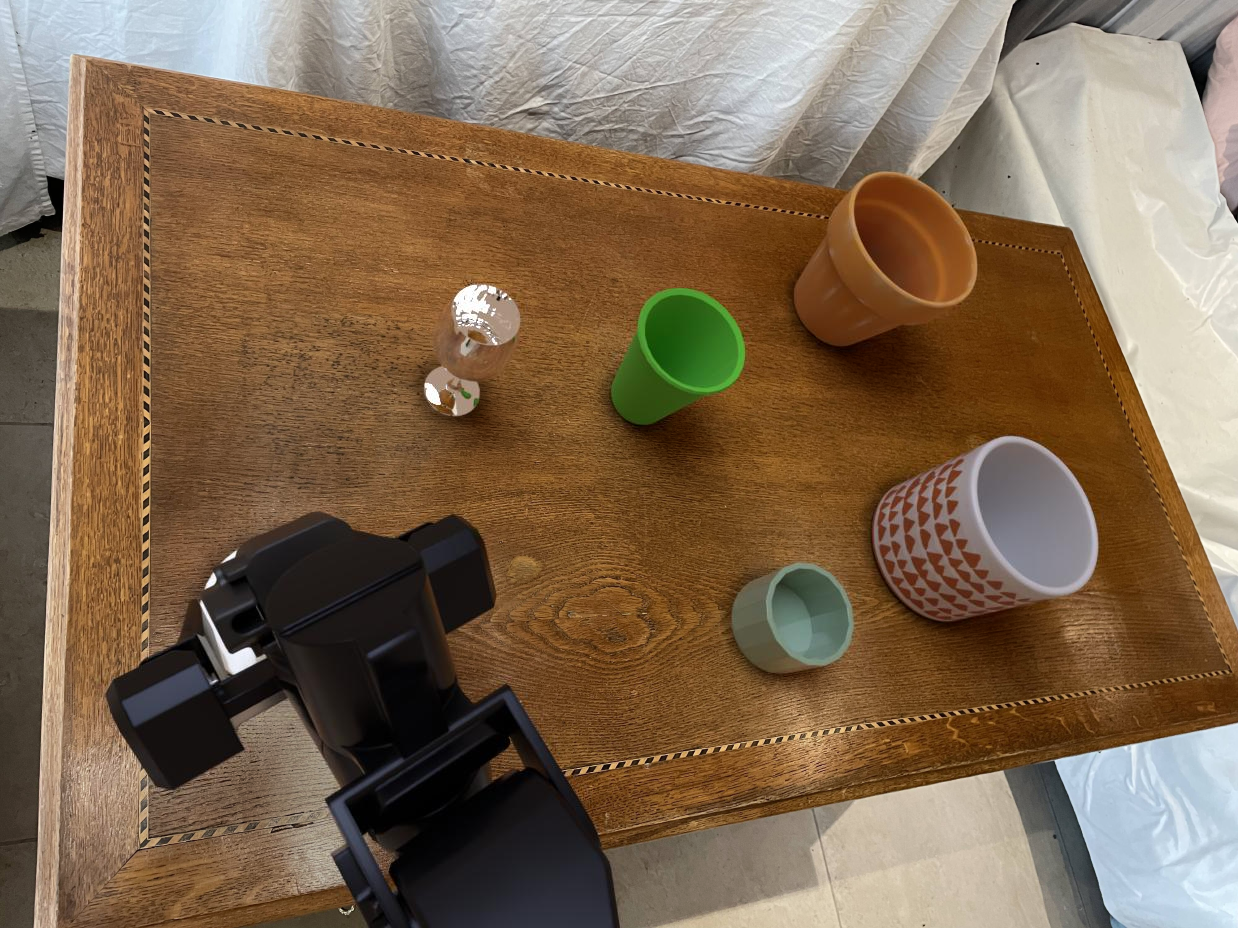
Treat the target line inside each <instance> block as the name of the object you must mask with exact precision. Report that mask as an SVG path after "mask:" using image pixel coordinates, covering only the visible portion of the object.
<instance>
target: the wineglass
mask: <svg viewBox="0 0 1238 928" xmlns="http://www.w3.org/2000/svg"><path fill="white" fill-rule="evenodd" d="M520 333H521V313H520V310H519V307H518V306H517V303H516V302H515V301H514V299H513V298H512V297H511V296H510V295H509V294H508V293H506V292H505V291H504V290H502V289H501V288H498V287H496V286H495V285H489V284H485V283H476V284H471V285H467V286H465V287H463V288H462V289H460V290H459V291H458V292H457V293H456V294H455V295H454V296H453V297H452V298H451V299H450V300H449V301H448V302H447V303H446V305H445V306H444V307H443V309H442V310H441V311H440V313H439V315H438V317H437V319H436V322H435V324H434V327H433V332H432V345H433V351H434V354H435V356H436V359H437V361H438V363H439V364H440V366H438V367H436V368H434V369H432V370H431V371H430V372H429V373H428V374H427V376H426V377H425V380H424V383H423V394H424V398H425V399H426V401H427V403H428V405H430V407H431V408H433V409H434V410H435V411H436V412H438V413H440V414H442V415H444V416H447V417H461V416H466V415H467V414H470V413H471V412H472V411H474V410H475V408H476V407H477V405H478V404H479V402H480V399H481V388H480V385H479V383H481V382H485V381H488V380H491V379H493V378H495V377H497V376H499V375H500V374H502V373H503V372H504V371H505V370H506V368H507V367H508V366H509V365H510V364H511V362H512V360H513V358H514V356H515V354H516V352H517V349H518V345H519V342H520Z"/></svg>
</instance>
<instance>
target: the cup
mask: <svg viewBox="0 0 1238 928" xmlns="http://www.w3.org/2000/svg"><path fill="white" fill-rule="evenodd" d="M745 345H746V344H745V341H744V337H743V334H742V331H741V329H740V327H739V325H738V323H737V322H736V319H734V317H733V315H731V313H730V312H729V311H728V310H727V309H726V307H724V306H723V305H722V304H720V303H719V302H718V301H717V300H716V299H714V298H713V297H712V296H709V295H707V294H706V293H704V292H701V291H699V290H695V289H693V288H684V287H675V288H668V289H665V290H662V291H659V292H656V293H655V294H653V296H651V297H650V298H649V299H648V300H646V302H645V304H644V305H643V306H642V308H641V310H640V313H639V317H638V320H637V329H636V331H635V333H634V335H633V338H632V339H631V341H630V344H629V346H628V348H627V351H626V353H625V355H624V357H623V359H622V361H621V364H620V365H619V368H618V370H617V372H616V374H615V376H614V379H613V381H612V384H611V387H610V396H611V401H612V405H613V407H614V409H615V411H616V412H617V413H618V414H619V416H620V417H622V418H623V419H624V420H625V421H628V422H630V423H632V424H635V425H642V426H643V425H644V426H648V425H652V424H654V423H657V422H658V421H660V420H662V419H664V418H666V417H667V416H670V415H671V414H674V413H676V412H677V411H679V410H680V409H683V408H684V407H686V406H689V405H690V404H693V403H694V402H696V401H698V400H700V399H702V398H704V397H705V396H710V395H716V394H720V393H722V392H724V391H726V390H728V389H730V388H731V387H732V386H733V385H734V384H735V383H736V382H737V381H738V379H739V378H740V377H741V374H742V372H743V370H744V365H745V360H746V346H745Z"/></svg>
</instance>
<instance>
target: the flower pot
mask: <svg viewBox="0 0 1238 928" xmlns="http://www.w3.org/2000/svg"><path fill="white" fill-rule="evenodd" d="M977 277H978V258H977V252H976V249H975V245H974V242H973V239H972V238H971V235H970V233H969V231H968V228H967V227H966V224H965V223H964V221H963V220H962V219H961V217H960V215H959V214H958V213H957V211H956V210H955V209H954V208H953V206H952V205H951V204H950V203H949V202H948V201H947V200H946V199H945V198H944V197H942V195H940V194H939V193H938V192H937V191H936V190H935V189H933V188H932V187H930V186H929V185H927V184H926V183H924V182H923V181H921V180H919V179H917V178H915V177H912V176H909V175H908V174H904V173H901V172H897V171H878V172H874V173H871V174H868V175H866V176H864V177H863V178H862V179H860V180H859V181H858V182H857V183H856V184H855V185H854V186H853V187H852V189H850V190H849V191H848V193H846V195H844V196H843V198H842V199H841V200H840V201H839V203H838V204H837V205H836V206H835V207H834V209H833V211H832V212H831V215H830V216H829V219H828V224H827V228H826V235H825V237H824V238H823V239H822V241H821V243H820V244H819V246H818V247H817V248H816V250H815V252H814V253H813V255H812V256H811V258H810V260H809V261H808V263H807V265H806V266H805V268H804V269H803V270H802V273H801V275H800V276H799V278H798V279H797V280H796V282H795V285H794V289H793V304H794V309H795V311H796V314H797V316H798V318H799V320H800V321H801V323H802V324H803V326H804V327H805V328H806V330H807V331H809V332H810V333H811V334H812V335H814V337H815V338H816V339H818V340H820V341H821V342H823V343H825V344H827V345H830V346H834V347H847V346H852V345H854V344H857V343H860V342H862V341H865V340H868V339H870V338H873V337H875V336H878V335H880V334H884V333H885V332H888V331H891V330H893V329H896V328H898V327H901V326H903V325H904V326H918V325H924V324H926V323H929V322H931V321H933V320H935V319H937V318H939V317H940V316H942V315H944V314H945V313H946V312H948V311H950V310H951V309H953V308H954V307H956V306H957V305H959V304H961V303H962V302H964V301H965V300H966V299H967V298H968V297H969V295H970V294H971V293H972V291H973V289H974V287H975V284H976V281H977Z"/></svg>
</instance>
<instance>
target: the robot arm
mask: <svg viewBox="0 0 1238 928" xmlns="http://www.w3.org/2000/svg"><path fill="white" fill-rule="evenodd" d="M481 535H482V534H481V533H480V531H479V530H478V529H477V527H475V526H474V525H473V524H472V523H470V521H468V520H467V519H466V518H464V517H463V516H461V515H457V514H454V513H450V515H447V516H445V517H443V518H440V519H439V520H437V521H435V522H434V521H433V522H432V521H426V522H424V523H421V524H420V525H418V526H416V527H414V528H412V529H410V530H408V531H406V532H403V533H401V534H399V535H397V536H395V537H389V536H384V535H379V534H374V533H371V532H367V531H361V530H357V529H353V528H352V526H351V525H350V524H349V523H348V522H346V521H345V520H343V519H342V518H339V517H336V516H334V515H331V514H329V513H327V512H324V511H311V512H308V513H305V514H303V515H301V516H300V517H297V518H296V519H293V520H292V521H290V522H287V523H285V524H283V525H281V526H278V527H276V528H274V529H272V530H269V531H267V532H265V533H262V534H259V535H256V536H254V537H252V538H249V539H247V540H246V541H244V542H243V543H242V544H241V545H240V546H239V547H238V548H237V549H236V550H237V552H236V555H235V557H234V558H232V559H230V560H228V561H226V562H223V561H222V562H223V563H222V562H220V563H219V564H217V565H213V567H212V566H211V570H212V573H213V572H214V574H215V576H216V583H215V584H214V585H213V586H211V587H209V588H206V589H202V590H200V591H199V594H198V596H199V598H200V601H201V600H202V602H203V604H204V606H205V608H206V610H207V612H208V614H209V616H210V618H211V620H212V622H213V624H214V626H215V628H216V630H217V632H218V634H219V636H220V638H221V640H222V642H223V643H224V645H225V647H226V649H227V651H228V653H230V654H234V653H236V652H238V651H240V650H242V649H244V648H252V650H253V652H254V654H255V656H256V658H258V657H260V656H262V655H263V654H265V656H266V658H265V659H263V660H261V661H259V662H257V663H255V664H253V665H251V666H249V667H248V668H246V669H244V670H242V671H240V672H238V673H236V674H234V675H230V676H229V677H228V672H227V671H226V670H225V667H224V664H223V660H222V657H221V654H220V651H219V647H218V644H217V641H216V638H215V635H214V632H213V629H212V627H211V625H210V623H209V621H208V619H207V617H206V615H205V613H204V611H203V609H202V607H201V605H200V601H199V599H198V598H196V597H195V598H193V599H191V600H189V601H188V605H187V607H186V608H187V609H186V612H185V616H184V619H183V623H182V626H181V630H180V633H179V635H178V636H179V637H178V638H177V641H176V643H174V644H172V645H170V646H168V647H166V648H164V649H161V650H160V651H158V652H155V653H154V654H152V655H149V656H147V657H146V658H144V659H143V660H141V662H139V664H138V666H137V667H135V668H133V669H131V670H129V671H126V672H125V673H123V674H121V675H119V676H117V677H115V678H113V679H112V681H111V682H110V684H109V685H108V688H107V690H106V691H105V694H104V695H105V698H106V703H107V705H108V708H109V712H110V715H111V717H112V719H113V721H114V724H115V725H116V727H117V730H118V731H119V733H120V735H121V736H122V737H123V739H124V741H125V743H126V744H127V746H128V747H129V748H130V750H131V751H132V753H133V754H134V756H135V757H136V759H137V760H138V762H139V764H140V765H141V767H142V769H143V770H144V772H145V773H146V775H147V777H148V778H149V779H150V781H151V782H152V784H153V786H154V787H155V788H159V789H164V790H169V791H177V790H178V789H181V788H182V787H184V786H186V785H187V784H189V783H191V782H193V781H194V780H196V779H197V778H200V777H201V776H203V775H205V774H206V773H208V772H210V771H212V770H214V769H215V768H217V767H219V766H221V765H222V764H224V763H226V762H227V761H229V760H231V759H233V758H235V757H236V756H238V755H240V754H242V753H244V752H245V751H247V750H246V749H247V748H245V746H244V743H243V741H242V739H241V737H240V735H239V727H240V726H241V725H242V724H244V723H246V722H247V721H250V720H251V719H253V718H255V717H256V716H259V715H261V714H262V713H264V712H266V711H267V710H270V709H271V708H273V707H275V706H277V705H278V704H280V703H283V702H284V701H285V700H287V699H288V701H289V703H290V704H291V707H293V709H294V711H295V712H296V714H297V716H298V718H299V720H300V722H301V723H302V724H303V727H304V728H305V729H306V731H307V733H308V735H309V736H310V738H311V740H312V741H313V743H314V745H315V746H316V748H317V750H318V752H319V753H320V755H321V756H322V759H323V760H324V761H325V763H326V766H327V767H328V769H329V770H330V772H331V774H332V775H333V777H334V779H335V780H336V782H337V784H338V786H339V787H340V788H339V789H338V790H336V791H334V792H333V793H331V794H330V795H328V796H326V797H325V798H324V799H323V801H325V804H326V807H327V808H328V810H329V812H330V814H331V817H332V819H333V821H334V823H335V825H336V827H337V829H338V831H339V834H340V835H341V837H342V839H343V841H344V844H342V845H341V846H339V847H337V848H336V849H335V850H333V851H332V852H330V857H331V858H332V860H333V862H334V864H335V866H336V868H337V870H338V872H339V874H340V876H341V877H342V880H343V882H344V883H345V885H346V887H347V890H348V891H349V892H350V895H351V897H352V899H353V900H354V903H355V905H356V907H357V909H358V910H359V913H360V915H361V916H362V918H363V920H364V922H365V924H366V927H367V928H621V925H620V924H621V923H620V918H619V917H620V916H619V911H618V903H617V897H616V891H615V885H614V884H615V883H614V878H613V871H612V866H611V861H610V860H609V859H608V856H607V855H606V854H605V852H604V851H603V847H602V842H601V838H600V835H599V833H598V831H597V829H596V826H595V824H594V822H593V820H592V818H591V817H590V814H589V813H588V811H587V809H586V808H585V806H584V804H583V803H582V801H581V799H580V798H579V797H578V795H577V793H576V791H575V790H574V788H573V787H572V785H571V783H570V782H569V780H568V778H567V776H566V775H565V773H564V772H563V770H562V769H561V767H560V765H559V764H558V762H557V760H556V759H555V757H554V755H553V754H552V752H551V751H550V749H549V748H548V746H547V744H546V742H545V741H544V739H543V738H542V735H541V734H540V733H539V731H538V729H537V727H536V726H535V724H534V722H533V721H532V719H531V718H530V716H529V714H528V712H527V711H526V710H525V708H524V707H523V705H522V703H521V702H520V699H518V697H517V695H516V693H515V692H514V690H513V688H512V687H511V686H510V684H508V683H507V682H506V683H504V684H503V685H501V686H500V687H498V688H497V689H494V690H493V691H492V692H490V693H488V694H487V695H485V696H484V697H482V698H481V699H479V700H478V701H476V702H474V703H473V701H472V700H471V699H470V698H469V697H468V695H466V693H464V691H463V690H462V688H461V686H460V682H459V676H458V672H457V668H456V665H455V662H454V658H453V656H452V653H451V648H450V644H449V641H448V638H447V636H448V635H450V634H452V633H453V632H455V631H457V630H458V629H460V628H462V627H464V626H465V625H467V624H469V623H471V622H473V621H475V620H477V619H478V618H479V617H481V616H483V615H485V614H486V613H487V614H488V612H490V611H491V610H493V609H494V608H495V607H496V606H495V605H496V601H497V596H498V593H497V590H496V586H495V580H494V577H493V573H492V568H491V564H490V560H489V556H488V551H487V547H486V543H485V540H484V539H483V537H482V536H481ZM511 742H512V745H513V748H514V749H515V751H516V753H517V755H518V757H519V759H520V761H521V763H522V765H523V767H524V768H523V769H522V770H520V769H519V768H513V767H511V768H510V769H508V770H506V771H505V772H504V773H503V774H501V775H500V776H499V777H497V778H496V779H494V780H493V768H492V766H491V761H492V760H493V759H495V758H496V757H498V756H499V755H501V754H502V753H504V752H505V751H507V749H509V747H510V746H511ZM366 834H368V836H369V838H370V839H371V840H372V841H373V842H375V843H376V844H377V845H379V847H380V848H381V849H383V850H384V851H385V852H387V853H388V854H391V855H392V857H393V859H394V860H392V862H390V864H389V868H388V871H387V873H388V875H389V877H390V879H391V881H392V884H393V885H394V887H395V889H393V890H392V889H391V887H390V885H389V883H388V881H387V879H386V877H385V875H384V873H383V871H382V869H381V868H380V865H379V863H378V861H377V860H376V858H375V857H374V855H373V853H372V851H371V849H370V847H369V845H368V843H367V841H366V840H365V837H364V836H366Z"/></svg>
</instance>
